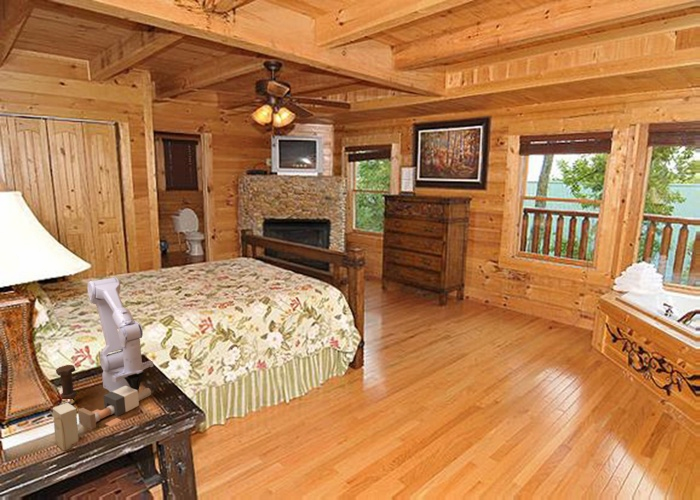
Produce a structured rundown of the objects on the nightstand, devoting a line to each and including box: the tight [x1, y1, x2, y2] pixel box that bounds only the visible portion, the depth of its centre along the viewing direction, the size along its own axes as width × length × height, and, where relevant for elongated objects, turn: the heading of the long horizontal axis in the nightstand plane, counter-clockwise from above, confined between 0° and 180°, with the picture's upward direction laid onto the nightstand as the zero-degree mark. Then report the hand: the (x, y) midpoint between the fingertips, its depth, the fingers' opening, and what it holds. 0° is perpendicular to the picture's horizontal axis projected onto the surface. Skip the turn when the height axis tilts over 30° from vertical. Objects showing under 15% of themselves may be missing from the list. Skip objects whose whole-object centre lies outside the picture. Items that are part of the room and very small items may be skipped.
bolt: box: [55, 364, 78, 401], centre depth 147 cm, size 6×5×15 cm
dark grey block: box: [103, 392, 127, 417], centre depth 143 cm, size 7×3×6 cm, turn 62°
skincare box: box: [52, 402, 80, 452], centre depth 126 cm, size 6×4×12 cm
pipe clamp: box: [77, 387, 152, 431], centre depth 144 cm, size 16×26×6 cm, turn 152°
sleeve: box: [112, 386, 140, 413], centre depth 146 cm, size 7×5×6 cm
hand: (135, 392), depth 149 cm, fingers closed
